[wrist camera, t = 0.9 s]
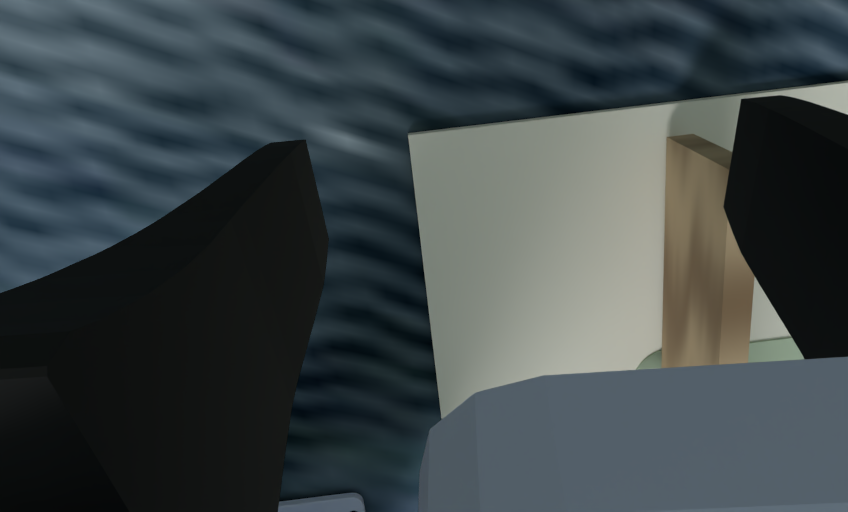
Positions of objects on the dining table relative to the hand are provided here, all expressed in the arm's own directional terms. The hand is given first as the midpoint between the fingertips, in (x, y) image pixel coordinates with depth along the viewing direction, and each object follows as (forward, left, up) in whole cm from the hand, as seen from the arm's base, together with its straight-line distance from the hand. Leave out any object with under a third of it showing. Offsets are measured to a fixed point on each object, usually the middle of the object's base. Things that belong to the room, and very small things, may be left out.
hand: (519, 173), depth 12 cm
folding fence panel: (-8, -8, -13) cm, 18 cm away
